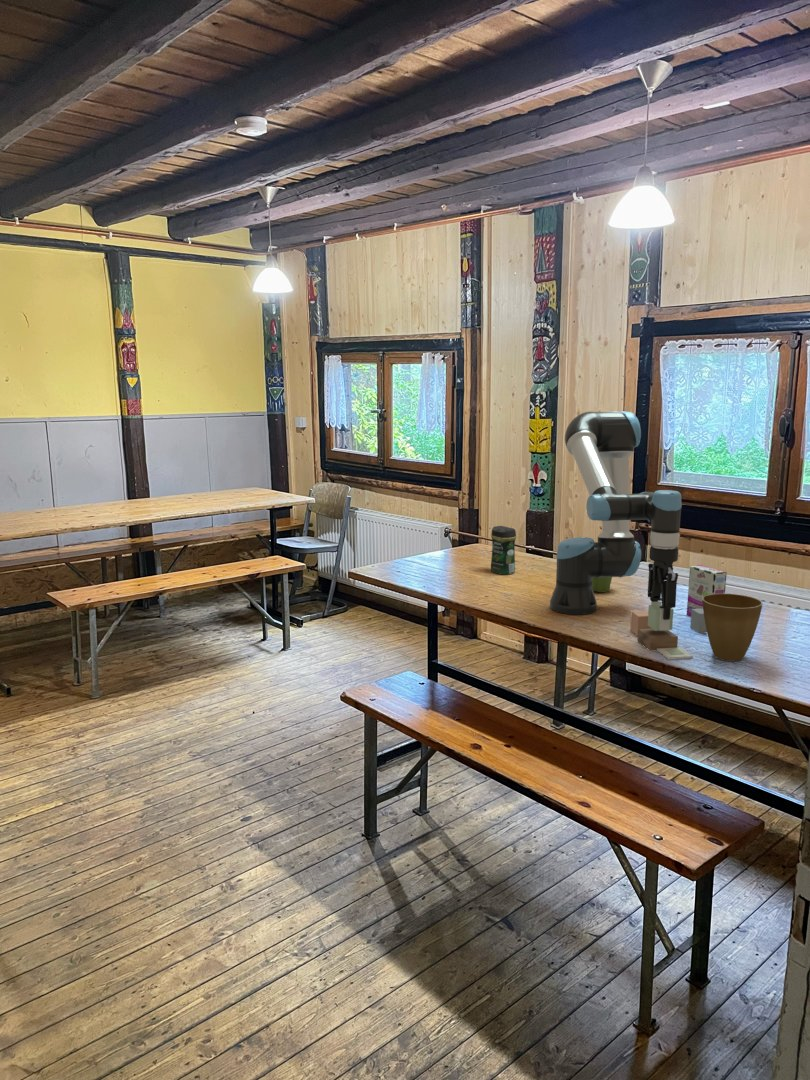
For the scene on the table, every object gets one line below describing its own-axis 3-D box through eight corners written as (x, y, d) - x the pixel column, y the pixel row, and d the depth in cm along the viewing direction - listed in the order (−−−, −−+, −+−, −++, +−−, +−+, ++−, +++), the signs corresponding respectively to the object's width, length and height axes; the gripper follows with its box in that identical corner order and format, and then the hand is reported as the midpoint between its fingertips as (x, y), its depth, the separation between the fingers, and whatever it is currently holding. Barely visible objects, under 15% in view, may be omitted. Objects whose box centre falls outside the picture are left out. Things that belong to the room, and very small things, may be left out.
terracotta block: (630, 630, 228) (631, 611, 226) (646, 629, 228) (647, 610, 227) (637, 635, 223) (638, 616, 222) (653, 635, 223) (654, 615, 222)
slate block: (690, 627, 230) (691, 609, 228) (705, 627, 230) (707, 608, 229) (698, 633, 225) (699, 613, 224) (714, 632, 225) (715, 613, 224)
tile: (656, 650, 210) (656, 647, 210) (680, 649, 211) (680, 646, 211) (668, 659, 203) (668, 656, 203) (692, 658, 204) (693, 655, 204)
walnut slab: (637, 642, 218) (638, 629, 217) (663, 640, 219) (664, 627, 218) (650, 651, 210) (651, 638, 209) (677, 650, 211) (678, 636, 210)
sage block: (647, 625, 216) (648, 605, 214) (664, 624, 216) (665, 604, 215) (655, 630, 211) (656, 610, 210) (672, 629, 211) (673, 609, 210)
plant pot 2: (756, 651, 209) (761, 595, 206) (758, 669, 195) (763, 610, 192) (699, 644, 215) (703, 590, 211) (696, 661, 201) (701, 604, 198)
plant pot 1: (601, 596, 265) (602, 565, 262) (575, 589, 274) (576, 559, 272) (623, 591, 271) (624, 560, 269) (597, 584, 281) (598, 554, 279)
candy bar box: (723, 623, 234) (727, 571, 230) (710, 625, 232) (714, 573, 229) (698, 613, 244) (701, 564, 241) (685, 615, 242) (689, 565, 239)
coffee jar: (487, 571, 301) (487, 525, 298) (502, 568, 306) (502, 523, 302) (503, 576, 294) (504, 529, 290) (518, 573, 298) (519, 527, 294)
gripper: (692, 552, 201) (687, 636, 205) (662, 539, 218) (658, 617, 223) (666, 553, 200) (661, 637, 204) (637, 540, 217) (633, 618, 222)
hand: (659, 626), depth 213 cm, fingers closed on sage block, 5 cm apart
